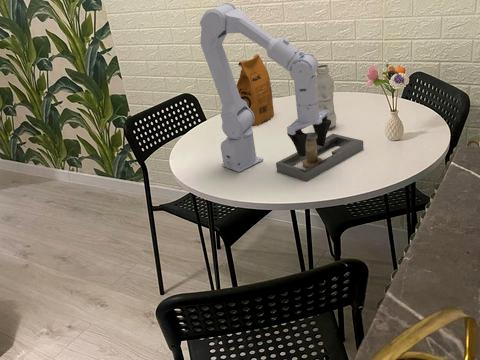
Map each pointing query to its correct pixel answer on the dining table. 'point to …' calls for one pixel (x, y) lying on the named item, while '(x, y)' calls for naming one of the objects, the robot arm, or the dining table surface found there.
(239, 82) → the coffee package
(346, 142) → the keyhole plate
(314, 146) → the peg
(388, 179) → the dining table surface
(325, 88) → the plastic bottle
